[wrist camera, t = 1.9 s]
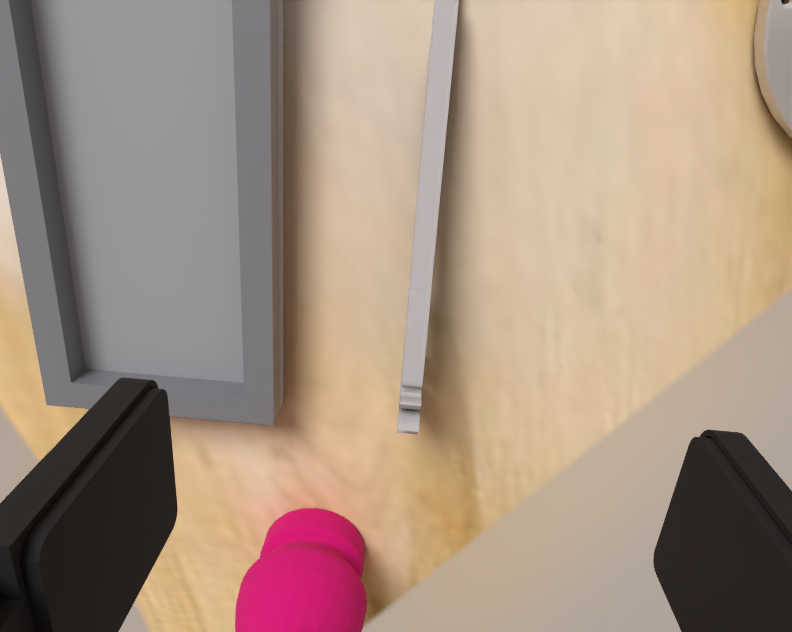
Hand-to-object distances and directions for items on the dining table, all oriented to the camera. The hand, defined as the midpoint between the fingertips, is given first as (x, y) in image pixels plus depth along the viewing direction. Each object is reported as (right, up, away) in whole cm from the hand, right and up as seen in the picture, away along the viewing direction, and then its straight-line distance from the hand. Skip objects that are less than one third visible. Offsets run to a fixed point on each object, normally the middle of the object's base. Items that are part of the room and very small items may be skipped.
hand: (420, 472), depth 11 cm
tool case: (-12, +11, +18) cm, 24 cm away
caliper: (+1, +8, +19) cm, 21 cm away
